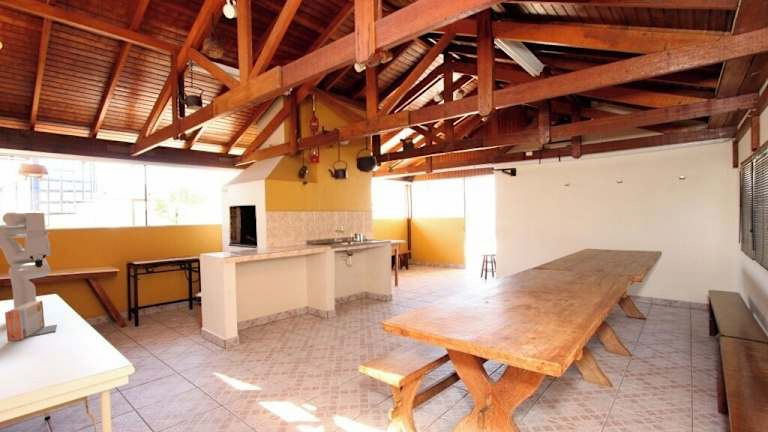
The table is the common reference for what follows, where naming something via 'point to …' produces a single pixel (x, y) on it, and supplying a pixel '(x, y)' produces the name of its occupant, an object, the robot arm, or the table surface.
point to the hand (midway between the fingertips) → (39, 267)
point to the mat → (44, 330)
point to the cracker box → (24, 320)
